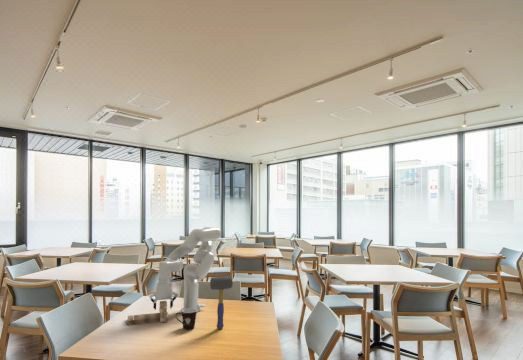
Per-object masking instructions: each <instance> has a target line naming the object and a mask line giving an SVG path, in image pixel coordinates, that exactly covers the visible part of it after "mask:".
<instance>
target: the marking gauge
mask: <svg viewBox="0 0 523 360" xmlns="http://www.w3.org/2000/svg"><path fill="white" fill-rule="evenodd" d="M167 309H168V302H167V300H159V309H158V310H159V312H158V313H161V315H160V322H159V323H164V322H165V323H166V322H168V321H167V317H168V313H169V312H168V310H167ZM168 318H169V317H168Z"/></svg>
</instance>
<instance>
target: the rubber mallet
mask: <svg viewBox="0 0 523 360" xmlns="http://www.w3.org/2000/svg"><path fill="white" fill-rule="evenodd" d="M233 282H234V281H233V278H232V276H230V275H229V276H228V275H225V276H224V275H223V276H221V275H220V276H213V277H210V282H209V284H210V285H209V286H210V290H213V291H215V290H218V303H217V311H216V312H217V314H216V315H217V321H216V328H217V330H222V329H224V325H225V324H224V313H225V309H224V308H225V305H224V290H228V289H229V290H230V289H232V287H233Z"/></svg>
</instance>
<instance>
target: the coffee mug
mask: <svg viewBox="0 0 523 360" xmlns="http://www.w3.org/2000/svg"><path fill="white" fill-rule="evenodd" d="M197 313H198V312H197V310H196V309H191V308H190V309H184V310H182V312H176V314H175V319H176V320H177V321H178V322H180V323H181V324H182V329H183V330H184V331H193V330H194V329H195V325H196V319H197ZM178 314H180V315H181V317H182V321H181V320H180V319H179V318H178V317H177V315H178Z"/></svg>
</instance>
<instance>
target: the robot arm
mask: <svg viewBox="0 0 523 360" xmlns="http://www.w3.org/2000/svg"><path fill="white" fill-rule="evenodd" d="M221 236H222V231H221V229H220V228H218V227H211V226H210V227H207V226H206V227H203V228H201V229H200V228H195V229H193V230H192V231H191V232H190V233H189V235H188V236H187V237H186V239H185V240H184V241H183V242H182V244H181V245H179V246H178V247H177V248H176V247H175V248H174V250H173V251H171V252H170V253H169V254H168V256H167V257H166V259H165V260H161V261H159V263H158V279H157V283H156V285H155V292H154V293H152V294H150V295H149V296H148V297H149V299H150V301H151V302H152V303H153V306H152V307H153V309H154V311H155V310H157V301H166V300H170V302H169V308H170V309H172V308H173V307H174V301H175V300H176V299H177V298H178V295H179V294H178V293H176V292H175V291H173V286H172V282H173V281H174V279H173V278H172V275H171V274H172V273H178V272H181V271H182V270H183V279H184V282H183V283H184V287H183V288H184V289H183V292H184V293H183V307H182V308H181V309H180V313H182V310H184V309H190V308H191V309H196V310H197V313H198V312H200V310H201V308H205V306H206V305H205V304H204V303H199V281H201V280H204V279H205V277H207V275H208V274H209V272H210V270H211V268H212V267H213V265H214V262H215V255H214V253H213V252H212V250H213V242H212V241H217V240H219V239H220V238H221ZM200 242H201V244H200V246H199V248H198V249H197V250H196V252H195V253H194V255H193V258H192V261H193V262H194V263H187V264H185V266H184V263H183V261H181V260H179V259H180V258H181V257H183V256H186V255H188V254H191V253H192V252H193V251H194V249H195V248H196V247H197V245H198V244H199V243H200ZM153 297H154V298H153Z"/></svg>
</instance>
